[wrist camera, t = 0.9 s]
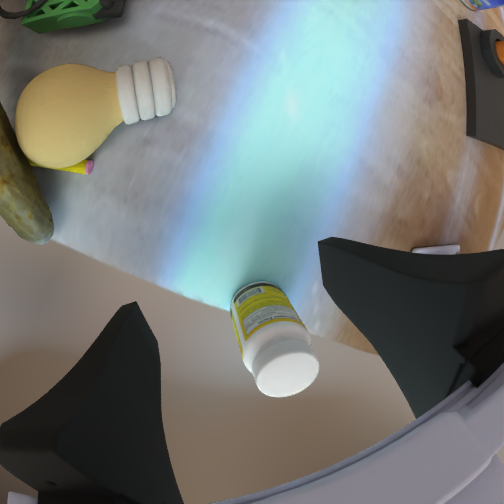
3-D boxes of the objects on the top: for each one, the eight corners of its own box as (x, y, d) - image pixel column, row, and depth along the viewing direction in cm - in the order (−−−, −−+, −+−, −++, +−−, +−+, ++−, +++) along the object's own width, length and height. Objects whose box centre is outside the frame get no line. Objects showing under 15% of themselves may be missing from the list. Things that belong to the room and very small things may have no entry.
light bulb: (164, 66, 17) (36, 106, 14) (168, 14, 11) (0, 71, 8) (180, 144, 18) (44, 187, 16) (188, 111, 12) (-1, 175, 10)
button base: (505, 150, 24) (523, 155, 21) (466, 135, 22) (487, 138, 19) (500, 49, 18) (517, 48, 16) (457, 17, 17) (476, 13, 14)
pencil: (89, 177, 17) (94, 164, 17) (86, 170, 16) (91, 157, 16) (-55, 157, 12) (-50, 147, 13) (-60, 152, 12) (-55, 142, 12)
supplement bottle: (272, 332, 25) (304, 403, 18) (221, 322, 24) (238, 399, 16) (294, 286, 24) (338, 351, 16) (240, 272, 22) (268, 342, 15)
